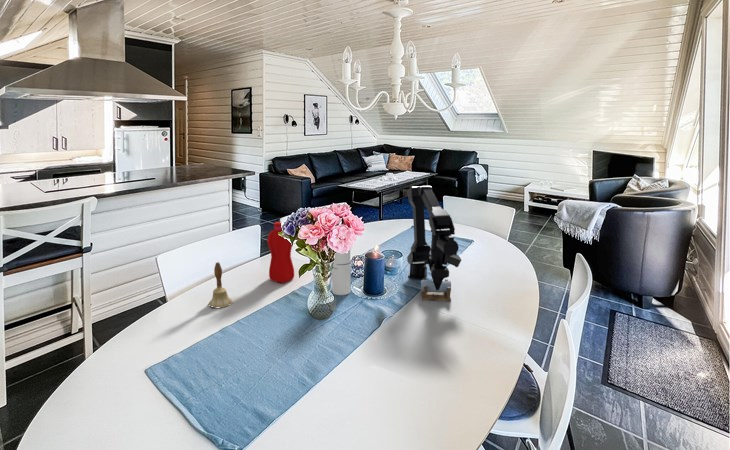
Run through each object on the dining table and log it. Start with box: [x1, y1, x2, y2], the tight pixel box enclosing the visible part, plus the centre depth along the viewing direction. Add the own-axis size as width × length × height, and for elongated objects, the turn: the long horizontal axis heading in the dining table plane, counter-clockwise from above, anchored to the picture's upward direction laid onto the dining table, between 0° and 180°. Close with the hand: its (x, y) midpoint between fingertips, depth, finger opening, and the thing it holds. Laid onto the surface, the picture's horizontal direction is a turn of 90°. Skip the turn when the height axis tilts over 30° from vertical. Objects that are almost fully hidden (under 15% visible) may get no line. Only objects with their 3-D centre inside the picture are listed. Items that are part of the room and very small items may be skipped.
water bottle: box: [266, 221, 295, 284], centre depth 161 cm, size 9×11×25 cm
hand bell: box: [208, 261, 233, 308], centre depth 140 cm, size 8×8×16 cm
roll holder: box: [420, 278, 452, 302], centre depth 150 cm, size 11×8×6 cm
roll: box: [420, 279, 452, 293], centre depth 149 cm, size 11×4×4 cm, turn 87°
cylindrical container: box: [331, 248, 352, 296], centre depth 150 cm, size 7×7×25 cm
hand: (436, 284), depth 149 cm, fingers open, 9 cm apart
